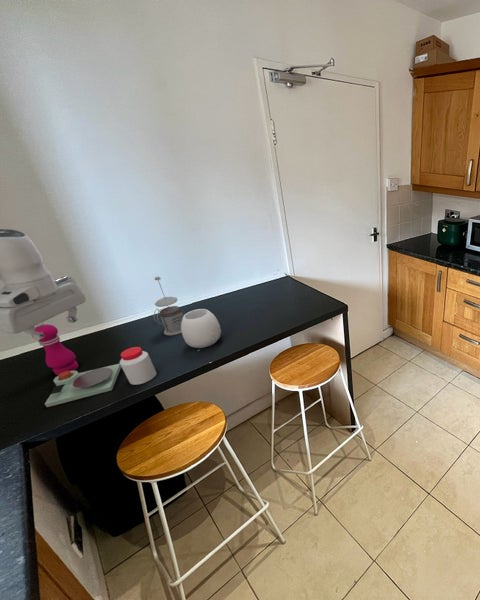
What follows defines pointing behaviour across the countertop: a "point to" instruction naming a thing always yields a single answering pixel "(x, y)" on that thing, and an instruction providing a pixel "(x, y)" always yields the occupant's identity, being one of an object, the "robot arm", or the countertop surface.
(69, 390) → the scale
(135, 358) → the pill bottle
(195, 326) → the white round vase
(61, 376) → the button
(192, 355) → the countertop surface
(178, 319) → the french press
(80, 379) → the scale top
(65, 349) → the pepper mill
